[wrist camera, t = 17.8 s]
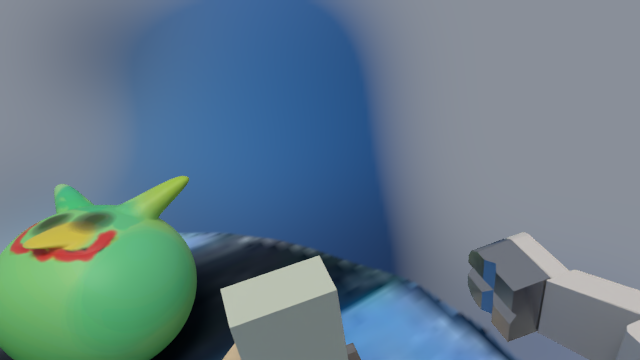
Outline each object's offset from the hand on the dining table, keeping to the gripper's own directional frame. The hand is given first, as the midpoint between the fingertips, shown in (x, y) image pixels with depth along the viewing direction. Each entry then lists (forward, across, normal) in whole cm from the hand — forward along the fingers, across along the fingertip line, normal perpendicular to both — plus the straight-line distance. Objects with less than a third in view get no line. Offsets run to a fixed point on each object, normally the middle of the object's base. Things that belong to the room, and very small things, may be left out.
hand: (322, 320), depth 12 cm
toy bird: (+30, +14, +28) cm, 44 cm away
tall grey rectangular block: (+12, 0, +27) cm, 29 cm away
